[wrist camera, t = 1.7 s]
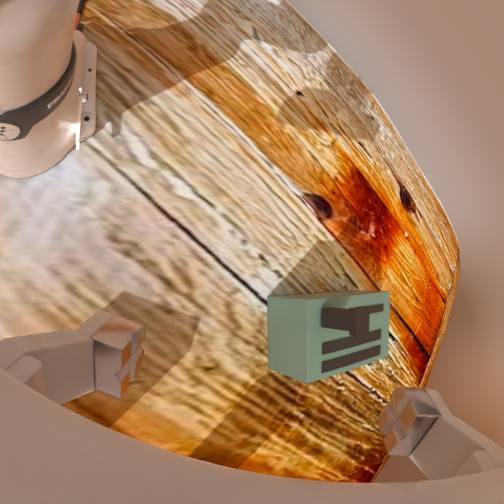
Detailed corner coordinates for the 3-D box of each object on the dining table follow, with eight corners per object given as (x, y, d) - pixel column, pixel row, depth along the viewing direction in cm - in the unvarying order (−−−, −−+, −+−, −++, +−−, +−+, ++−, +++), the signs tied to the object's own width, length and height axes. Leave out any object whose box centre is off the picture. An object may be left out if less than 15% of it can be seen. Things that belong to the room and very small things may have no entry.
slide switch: (319, 305, 39) (357, 308, 33) (333, 304, 40) (369, 306, 35) (319, 330, 38) (356, 336, 33) (332, 328, 40) (369, 333, 34)
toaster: (267, 296, 46) (308, 299, 38) (349, 290, 55) (390, 291, 47) (267, 368, 45) (307, 384, 37) (348, 349, 54) (388, 356, 46)
